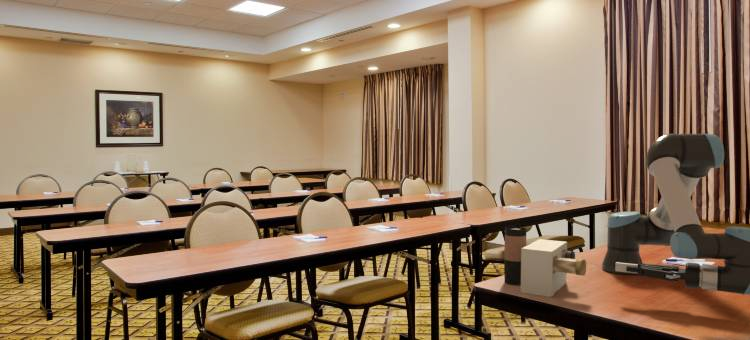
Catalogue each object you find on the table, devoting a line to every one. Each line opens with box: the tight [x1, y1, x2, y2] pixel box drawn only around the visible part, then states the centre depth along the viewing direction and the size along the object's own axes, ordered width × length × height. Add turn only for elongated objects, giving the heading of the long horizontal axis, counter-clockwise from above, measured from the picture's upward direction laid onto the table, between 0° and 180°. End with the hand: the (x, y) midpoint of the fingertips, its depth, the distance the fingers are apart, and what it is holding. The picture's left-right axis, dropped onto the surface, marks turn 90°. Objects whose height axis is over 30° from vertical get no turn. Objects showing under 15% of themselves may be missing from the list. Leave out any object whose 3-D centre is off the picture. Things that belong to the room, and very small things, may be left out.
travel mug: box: [503, 226, 527, 286], centre depth 192 cm, size 8×8×20 cm
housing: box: [520, 238, 568, 298], centre depth 186 cm, size 10×22×15 cm, turn 148°
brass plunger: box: [553, 257, 587, 277], centre depth 177 cm, size 13×5×5 cm, turn 58°
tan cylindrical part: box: [562, 250, 576, 259], centre depth 190 cm, size 13×5×5 cm, turn 58°
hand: (615, 266), depth 174 cm, fingers closed
